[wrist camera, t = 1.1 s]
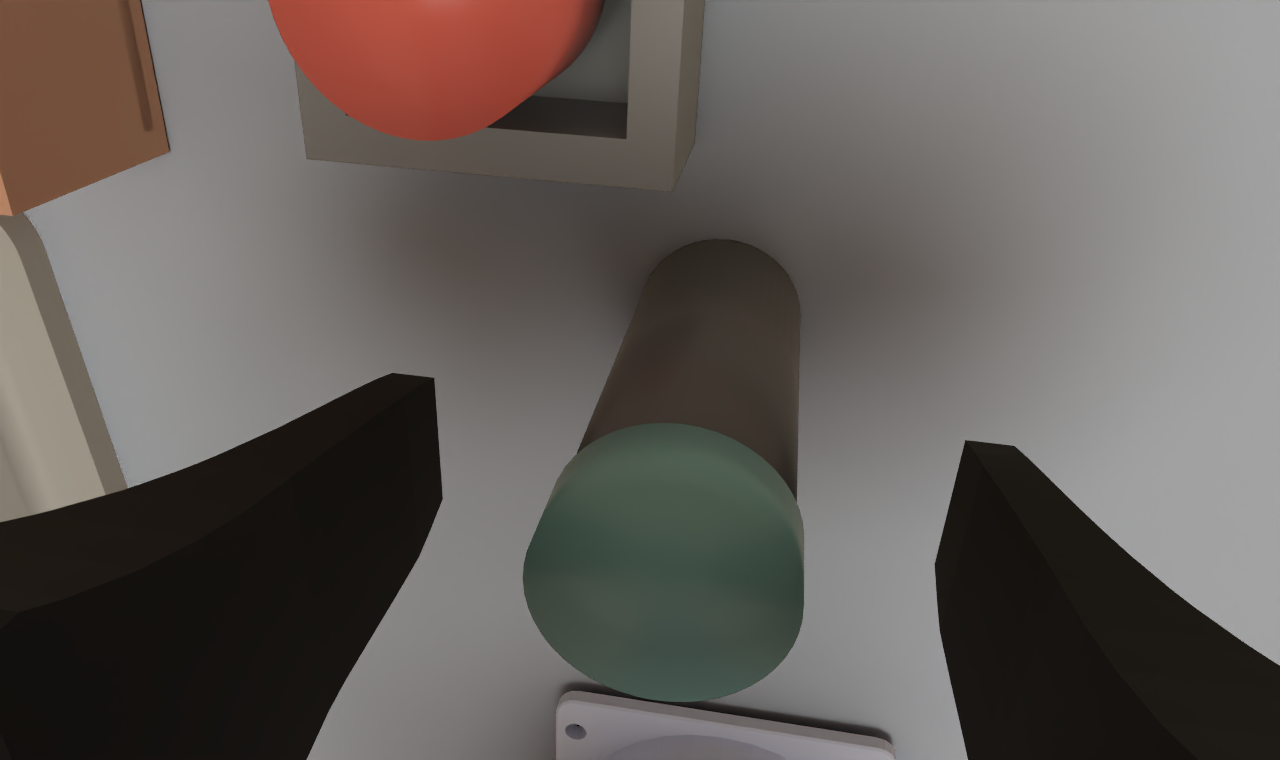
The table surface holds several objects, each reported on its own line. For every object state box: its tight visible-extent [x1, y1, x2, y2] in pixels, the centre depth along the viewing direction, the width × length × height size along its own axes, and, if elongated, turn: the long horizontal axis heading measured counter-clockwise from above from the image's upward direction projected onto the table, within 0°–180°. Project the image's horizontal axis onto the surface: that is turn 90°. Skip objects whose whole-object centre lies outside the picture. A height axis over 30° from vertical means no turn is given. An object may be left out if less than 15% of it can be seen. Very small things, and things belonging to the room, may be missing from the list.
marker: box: [523, 240, 804, 702], centre depth 14 cm, size 3×3×8 cm
